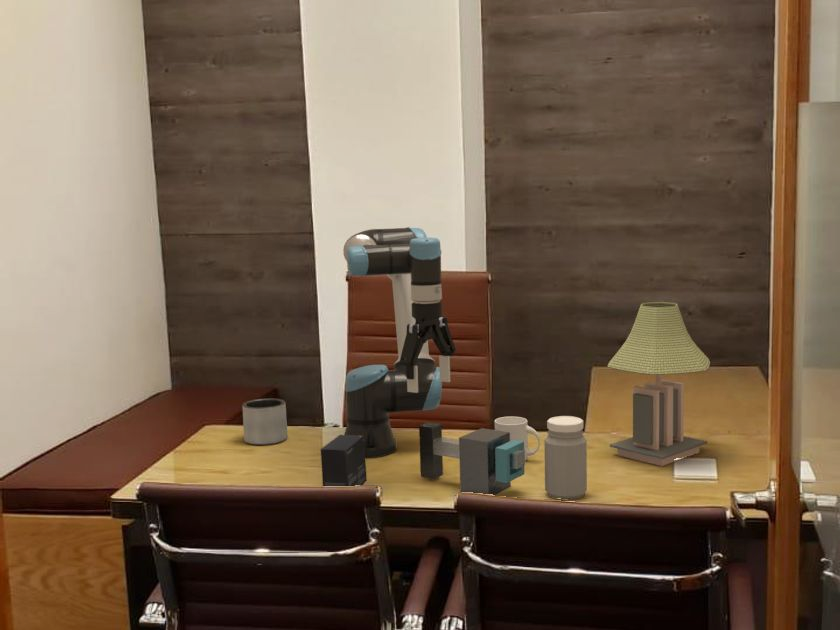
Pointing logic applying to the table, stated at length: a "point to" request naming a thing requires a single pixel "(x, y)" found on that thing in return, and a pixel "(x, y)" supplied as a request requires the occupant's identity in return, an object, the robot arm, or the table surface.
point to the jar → (565, 458)
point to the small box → (344, 461)
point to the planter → (264, 421)
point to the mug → (517, 431)
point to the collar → (507, 461)
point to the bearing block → (481, 461)
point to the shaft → (447, 451)
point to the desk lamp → (659, 384)
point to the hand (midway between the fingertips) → (429, 386)
